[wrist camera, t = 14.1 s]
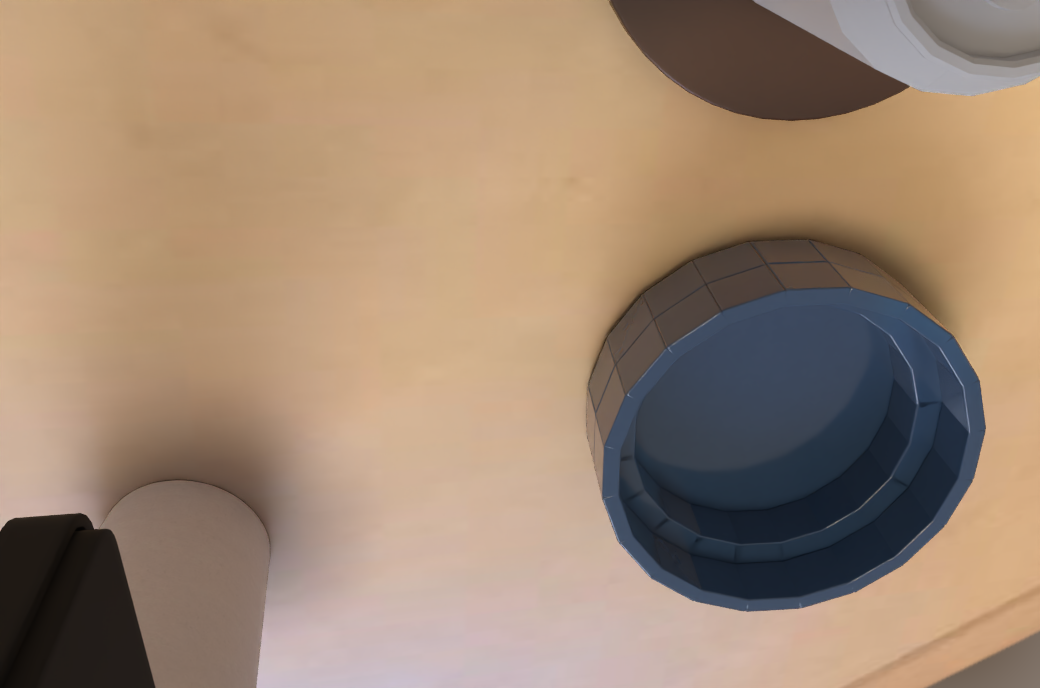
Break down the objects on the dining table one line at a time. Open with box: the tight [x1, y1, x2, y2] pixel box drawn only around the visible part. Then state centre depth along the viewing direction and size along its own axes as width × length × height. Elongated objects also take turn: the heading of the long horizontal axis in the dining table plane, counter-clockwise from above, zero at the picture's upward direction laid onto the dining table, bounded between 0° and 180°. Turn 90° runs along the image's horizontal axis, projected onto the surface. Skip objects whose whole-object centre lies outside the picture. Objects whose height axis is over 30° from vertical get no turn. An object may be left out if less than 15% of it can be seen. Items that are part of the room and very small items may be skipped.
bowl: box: [586, 239, 986, 612], centre depth 36 cm, size 13×13×4 cm
